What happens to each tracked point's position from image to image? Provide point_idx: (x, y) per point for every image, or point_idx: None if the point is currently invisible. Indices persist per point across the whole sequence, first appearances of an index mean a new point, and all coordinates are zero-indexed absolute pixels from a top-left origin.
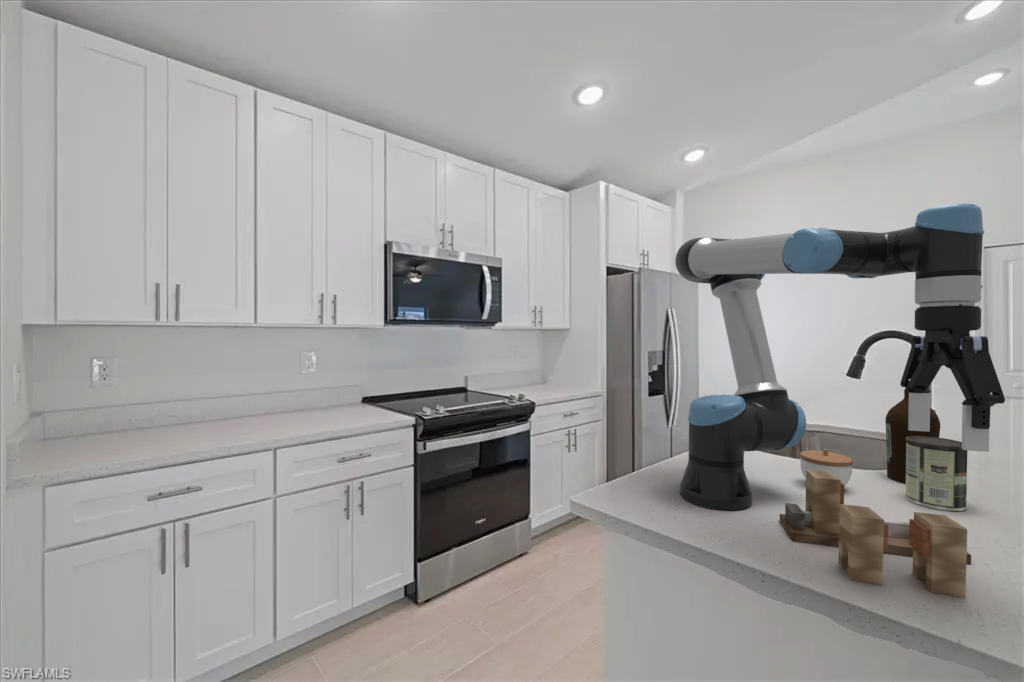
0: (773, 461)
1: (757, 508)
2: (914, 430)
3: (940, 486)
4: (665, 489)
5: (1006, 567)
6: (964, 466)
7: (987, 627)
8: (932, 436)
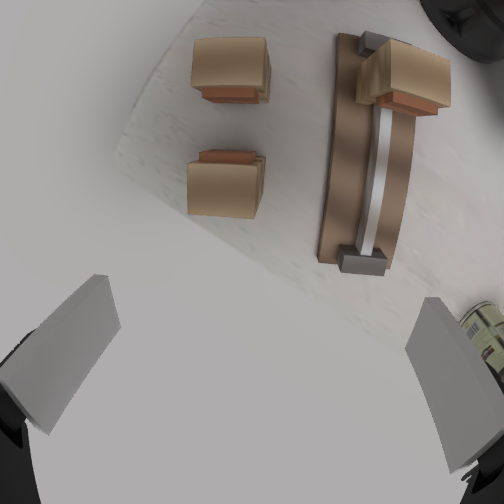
0: None
1: (449, 51)
2: (422, 310)
3: (474, 339)
4: None
5: (315, 292)
6: None
7: (155, 174)
8: None
